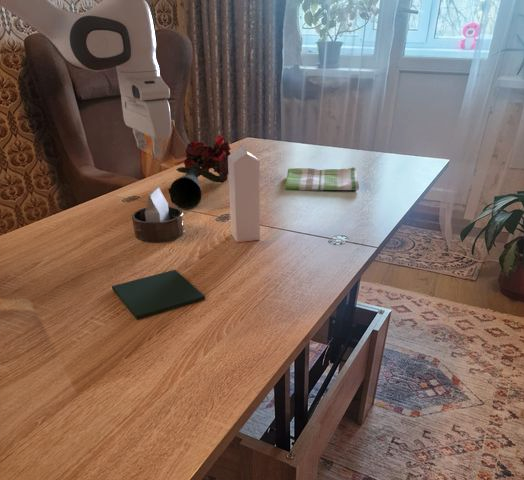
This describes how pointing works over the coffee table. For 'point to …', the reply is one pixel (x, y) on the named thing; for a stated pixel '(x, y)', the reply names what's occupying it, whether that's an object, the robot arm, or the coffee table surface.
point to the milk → (244, 195)
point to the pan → (158, 226)
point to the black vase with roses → (199, 172)
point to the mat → (157, 294)
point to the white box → (157, 207)
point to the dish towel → (322, 179)
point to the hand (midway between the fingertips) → (149, 153)
